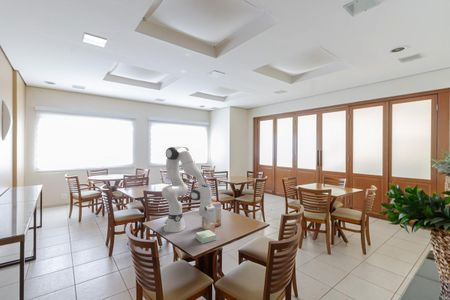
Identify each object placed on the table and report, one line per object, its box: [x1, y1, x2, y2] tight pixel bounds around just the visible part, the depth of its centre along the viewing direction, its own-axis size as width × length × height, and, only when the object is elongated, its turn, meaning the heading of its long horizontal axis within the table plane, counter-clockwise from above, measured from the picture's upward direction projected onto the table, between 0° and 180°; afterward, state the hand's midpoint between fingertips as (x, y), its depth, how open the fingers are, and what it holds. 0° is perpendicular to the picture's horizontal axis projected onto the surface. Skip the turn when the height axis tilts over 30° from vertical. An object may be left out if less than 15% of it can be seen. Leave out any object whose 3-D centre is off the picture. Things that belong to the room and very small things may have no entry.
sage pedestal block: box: [195, 229, 217, 244], centre depth 168 cm, size 12×12×4 cm
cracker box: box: [211, 201, 222, 227], centre depth 196 cm, size 14×6×21 cm, turn 110°
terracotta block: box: [206, 222, 216, 233], centre depth 182 cm, size 5×5×7 cm
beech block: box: [201, 216, 211, 230], centre depth 168 cm, size 5×5×8 cm
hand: (206, 223), depth 168 cm, fingers closed on beech block, 5 cm apart
